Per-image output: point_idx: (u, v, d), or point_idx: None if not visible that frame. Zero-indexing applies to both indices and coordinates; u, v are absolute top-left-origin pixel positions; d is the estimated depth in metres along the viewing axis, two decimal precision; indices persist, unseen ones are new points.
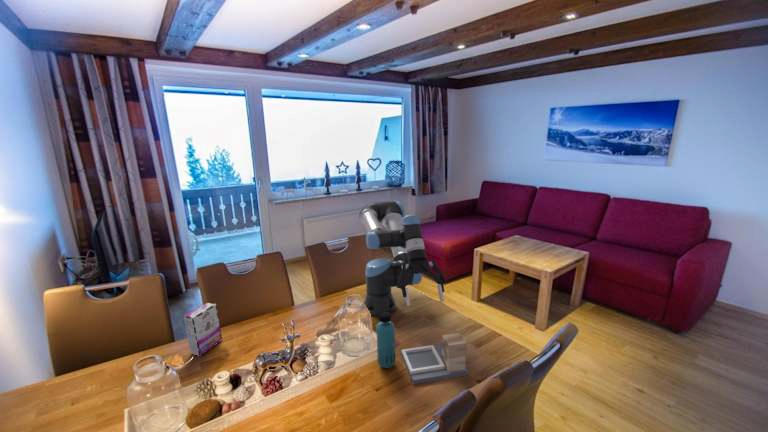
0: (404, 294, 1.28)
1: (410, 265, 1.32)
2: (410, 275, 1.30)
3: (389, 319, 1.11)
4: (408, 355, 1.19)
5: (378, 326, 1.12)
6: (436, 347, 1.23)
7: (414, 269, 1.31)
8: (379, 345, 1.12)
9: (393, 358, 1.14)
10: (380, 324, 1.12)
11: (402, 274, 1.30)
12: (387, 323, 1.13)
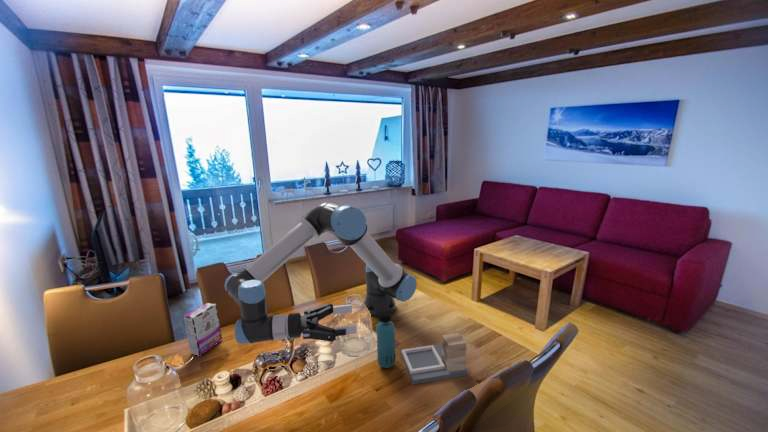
0: None
1: None
2: None
3: (389, 319, 1.11)
4: (408, 355, 1.19)
5: (378, 326, 1.12)
6: (436, 347, 1.23)
7: None
8: (379, 345, 1.12)
9: (393, 358, 1.14)
10: (380, 324, 1.12)
11: None
12: (387, 323, 1.13)
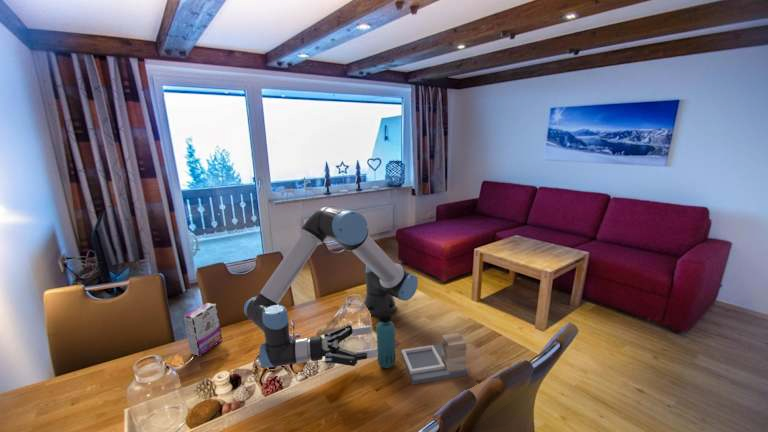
0: None
1: None
2: None
3: (389, 319, 1.11)
4: (408, 355, 1.19)
5: (378, 326, 1.12)
6: (436, 347, 1.23)
7: None
8: (379, 345, 1.12)
9: (393, 358, 1.14)
10: (380, 324, 1.12)
11: None
12: (387, 323, 1.13)
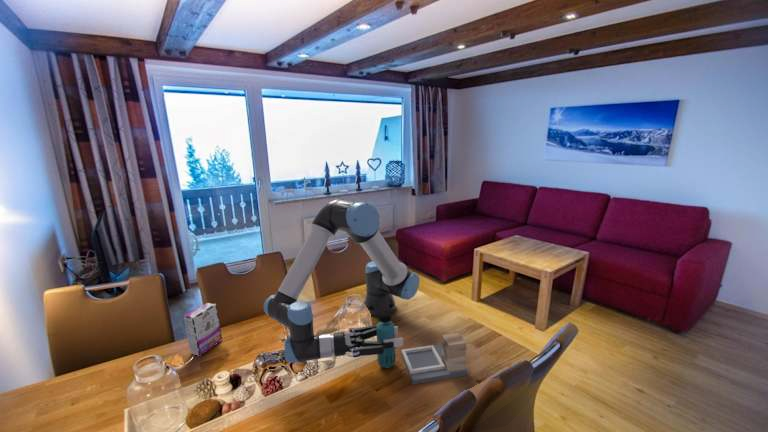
0: None
1: None
2: None
3: (389, 319, 1.11)
4: (408, 355, 1.19)
5: (378, 326, 1.12)
6: (436, 347, 1.23)
7: None
8: None
9: (393, 358, 1.14)
10: (380, 324, 1.12)
11: None
12: (387, 323, 1.13)
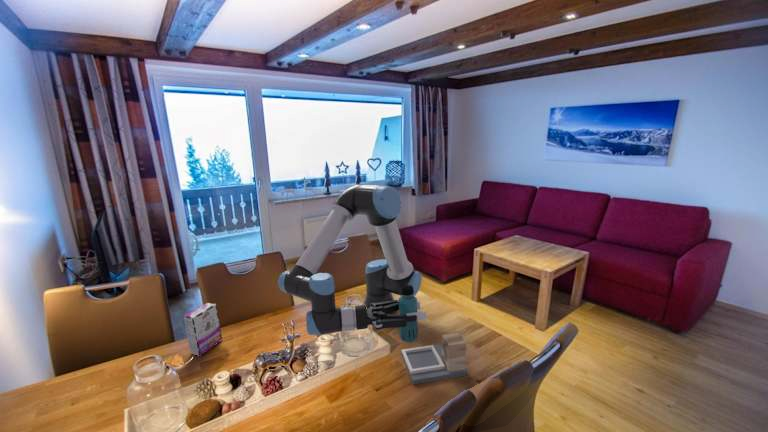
0: None
1: None
2: None
3: (412, 292, 1.09)
4: (408, 355, 1.19)
5: (400, 299, 1.09)
6: (436, 347, 1.23)
7: None
8: None
9: (415, 333, 1.11)
10: (402, 297, 1.10)
11: None
12: (410, 297, 1.10)
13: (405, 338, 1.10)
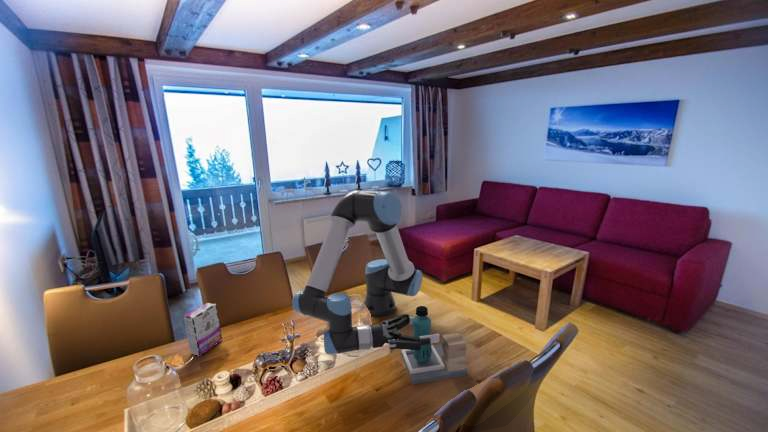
0: None
1: None
2: None
3: (426, 313, 1.11)
4: (408, 355, 1.19)
5: (415, 320, 1.12)
6: (436, 347, 1.23)
7: None
8: None
9: (429, 352, 1.14)
10: (417, 318, 1.12)
11: None
12: (424, 317, 1.13)
13: (419, 358, 1.13)
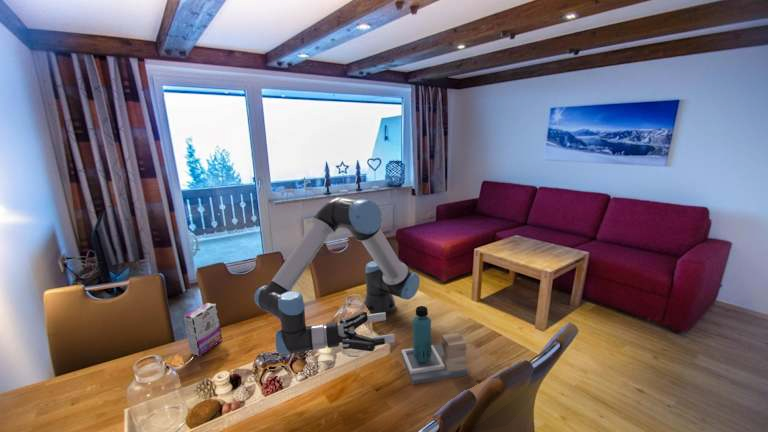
0: None
1: None
2: None
3: (426, 313, 1.11)
4: (408, 355, 1.19)
5: (415, 320, 1.12)
6: (436, 347, 1.23)
7: None
8: (416, 339, 1.12)
9: (429, 352, 1.14)
10: (417, 318, 1.12)
11: None
12: (424, 317, 1.13)
13: (419, 358, 1.13)
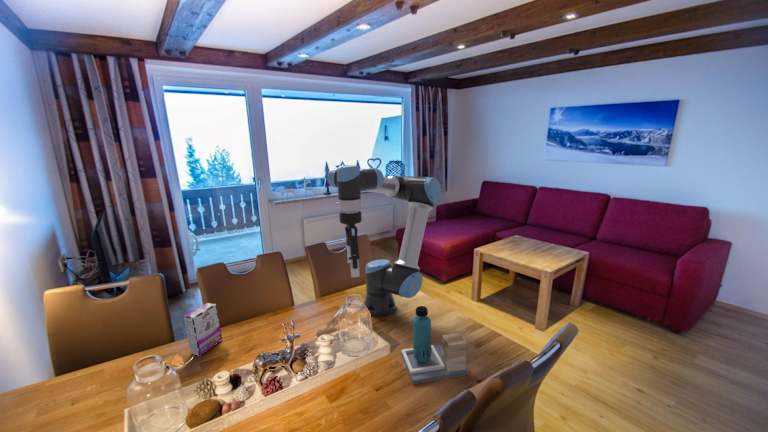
0: None
1: None
2: None
3: (426, 313, 1.11)
4: (408, 355, 1.19)
5: (415, 320, 1.12)
6: (436, 347, 1.23)
7: (345, 231, 1.17)
8: (416, 339, 1.12)
9: (429, 352, 1.14)
10: (417, 318, 1.12)
11: None
12: (424, 317, 1.13)
13: (419, 358, 1.13)
